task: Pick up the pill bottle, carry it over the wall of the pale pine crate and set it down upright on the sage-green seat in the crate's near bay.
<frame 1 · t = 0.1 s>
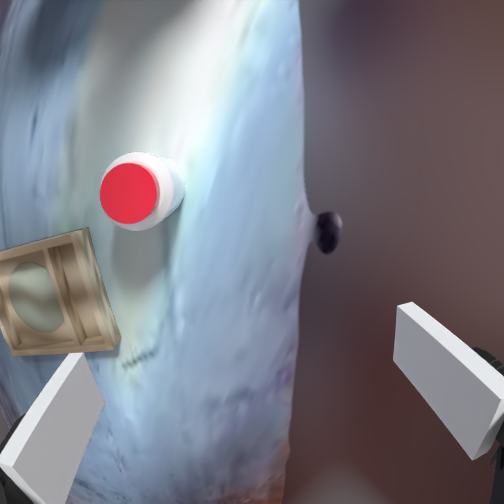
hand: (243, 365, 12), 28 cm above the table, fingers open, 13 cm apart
pill bottle: (154, 187, 37), on the table
crate: (47, 294, 39), on the table
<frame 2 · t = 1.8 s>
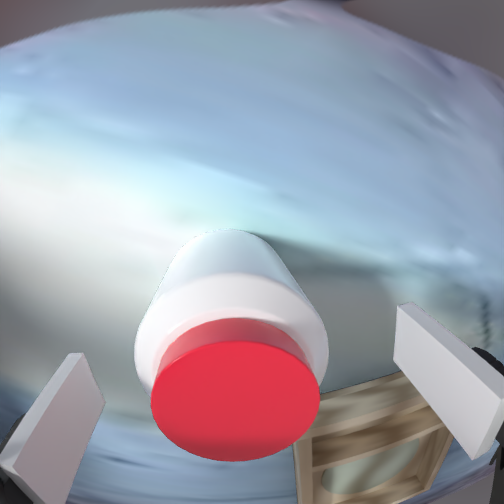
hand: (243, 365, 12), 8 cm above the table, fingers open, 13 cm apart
pill bottle: (226, 288, 20), on the table
crate: (371, 449, 25), on the table
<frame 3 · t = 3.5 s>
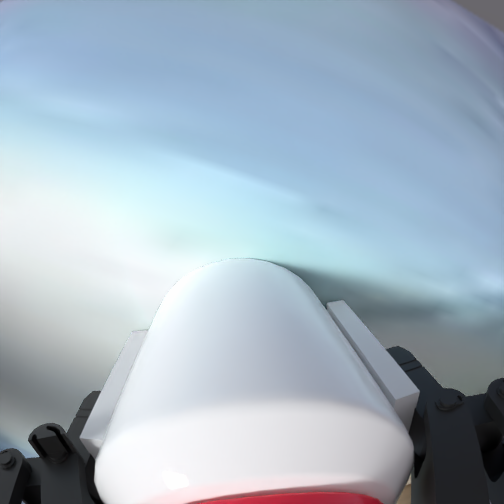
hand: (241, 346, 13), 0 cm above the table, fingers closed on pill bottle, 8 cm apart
pill bottle: (240, 340, 14), on the table, touching gripper
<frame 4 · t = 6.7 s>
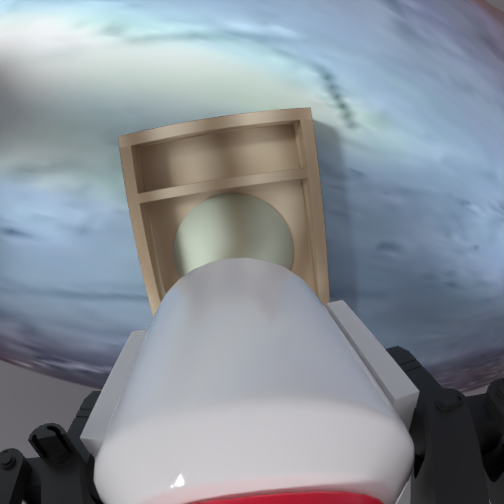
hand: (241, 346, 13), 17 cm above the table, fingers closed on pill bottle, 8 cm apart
pill bottle: (240, 339, 14), point 17 cm above the table, touching gripper
crate: (229, 230, 29), on the table
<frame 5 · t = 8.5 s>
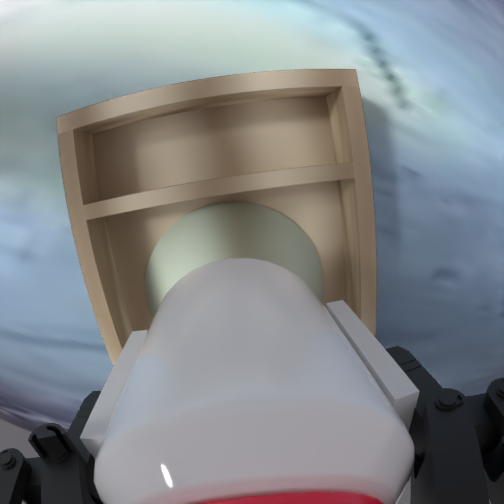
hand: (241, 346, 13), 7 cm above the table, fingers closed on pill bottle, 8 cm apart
pill bottle: (240, 340, 14), point 7 cm above the table, touching gripper
crate: (229, 257, 19), on the table
when the fingers open (4 cm above the table, at t = 10.0 s): pill bottle drops 3 cm, resting on crate.
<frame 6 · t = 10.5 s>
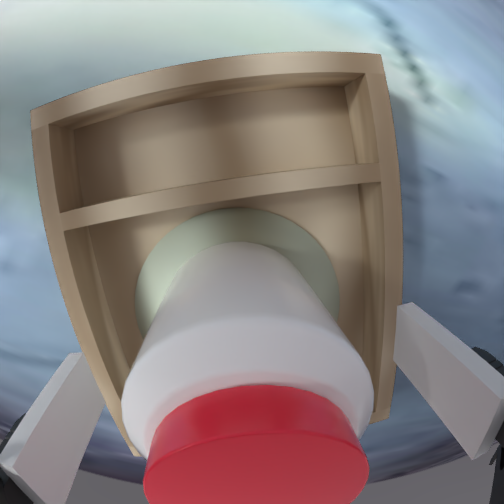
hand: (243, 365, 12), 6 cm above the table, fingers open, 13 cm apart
pill bottle: (238, 312, 17), point 1 cm above the table, touching crate
crate: (231, 272, 17), on the table
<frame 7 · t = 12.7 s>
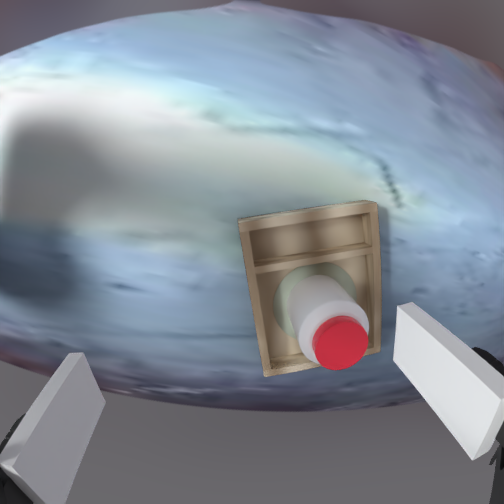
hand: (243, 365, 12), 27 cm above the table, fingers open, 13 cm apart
pill bottle: (316, 302, 40), point 1 cm above the table, touching crate
crate: (313, 286, 40), on the table
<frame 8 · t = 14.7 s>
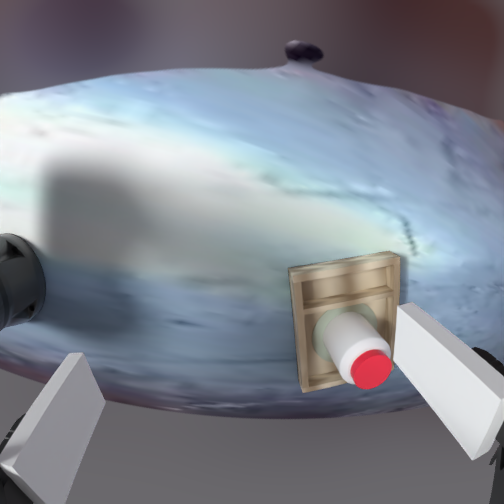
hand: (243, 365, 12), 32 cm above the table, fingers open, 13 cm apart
pill bottle: (345, 333, 47), point 1 cm above the table, touching crate
crate: (343, 320, 47), on the table
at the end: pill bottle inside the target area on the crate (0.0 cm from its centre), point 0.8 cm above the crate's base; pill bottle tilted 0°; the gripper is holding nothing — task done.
